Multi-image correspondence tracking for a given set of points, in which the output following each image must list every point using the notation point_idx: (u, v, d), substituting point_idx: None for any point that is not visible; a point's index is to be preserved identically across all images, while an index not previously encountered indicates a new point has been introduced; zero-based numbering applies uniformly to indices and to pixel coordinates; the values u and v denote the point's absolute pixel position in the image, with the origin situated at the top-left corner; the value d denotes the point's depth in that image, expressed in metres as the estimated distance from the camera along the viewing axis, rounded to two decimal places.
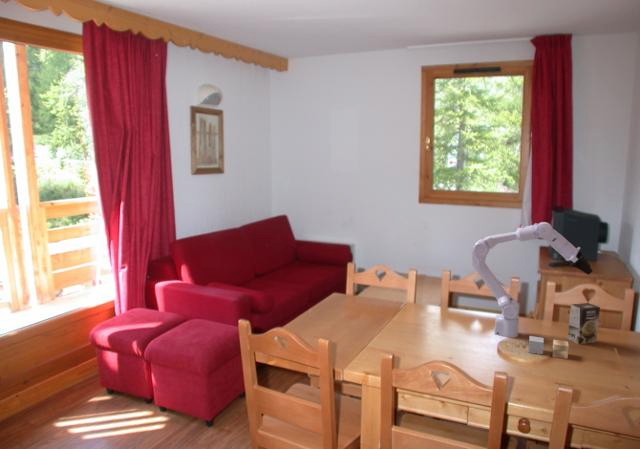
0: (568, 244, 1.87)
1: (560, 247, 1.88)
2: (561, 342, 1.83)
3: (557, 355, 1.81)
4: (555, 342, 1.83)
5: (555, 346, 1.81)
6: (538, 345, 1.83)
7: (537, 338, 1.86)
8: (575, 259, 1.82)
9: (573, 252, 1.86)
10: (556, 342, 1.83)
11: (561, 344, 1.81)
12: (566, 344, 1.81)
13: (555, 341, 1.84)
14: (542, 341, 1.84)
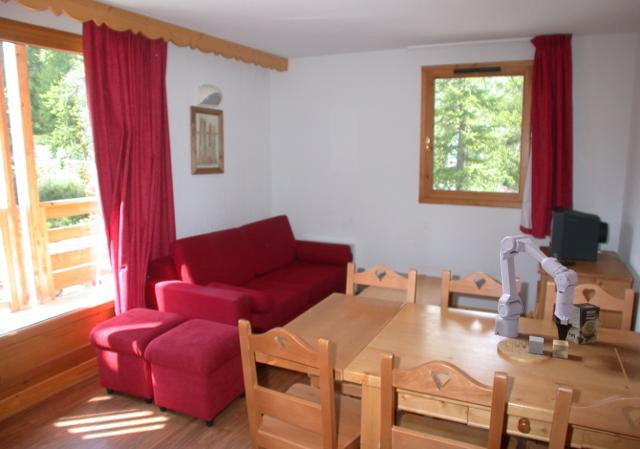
0: (571, 306, 1.77)
1: (558, 301, 1.79)
2: (561, 342, 1.83)
3: (557, 355, 1.81)
4: (555, 342, 1.83)
5: (555, 346, 1.81)
6: (538, 345, 1.83)
7: (537, 338, 1.86)
8: (565, 323, 1.74)
9: (567, 315, 1.77)
10: (556, 342, 1.83)
11: (561, 344, 1.81)
12: (566, 344, 1.81)
13: (555, 341, 1.84)
14: (542, 341, 1.84)
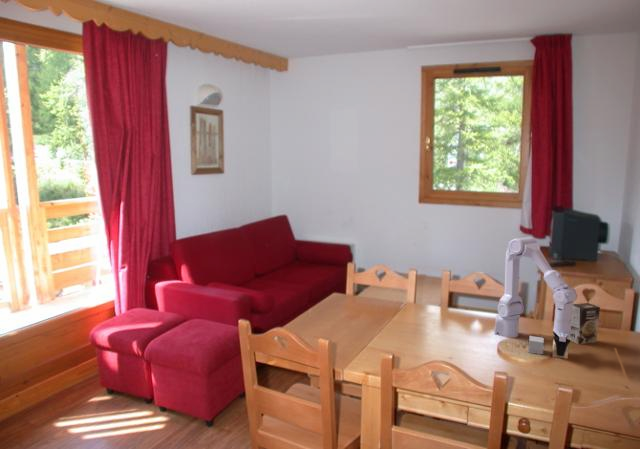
0: (569, 323, 1.78)
1: (557, 318, 1.80)
2: None
3: (557, 355, 1.81)
4: None
5: (555, 346, 1.81)
6: (538, 345, 1.83)
7: (537, 338, 1.86)
8: (563, 340, 1.75)
9: (566, 332, 1.79)
10: None
11: None
12: None
13: None
14: (542, 341, 1.84)
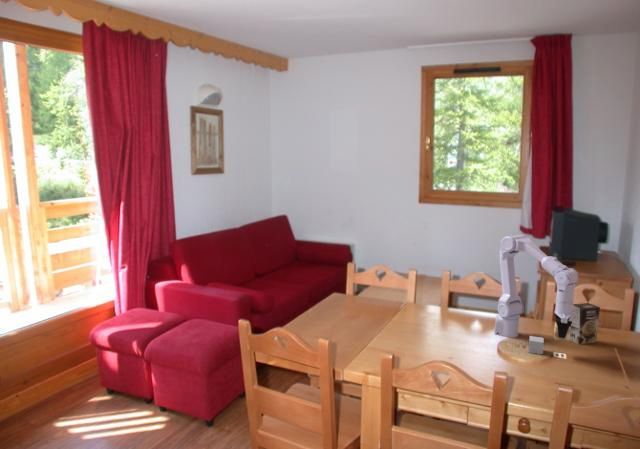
0: (571, 304, 1.77)
1: (558, 300, 1.79)
2: None
3: (559, 337, 1.80)
4: None
5: (557, 328, 1.80)
6: (538, 345, 1.83)
7: (537, 338, 1.86)
8: (565, 321, 1.74)
9: (567, 313, 1.77)
10: None
11: None
12: None
13: None
14: (542, 341, 1.84)
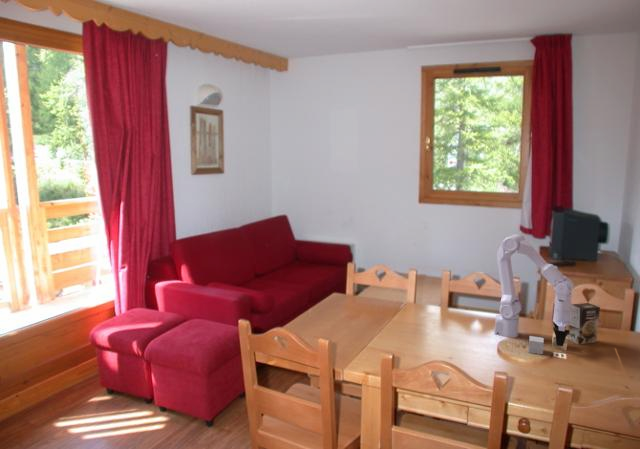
0: (568, 313, 1.86)
1: (558, 309, 1.86)
2: None
3: (556, 347, 1.89)
4: (554, 334, 1.90)
5: (554, 338, 1.89)
6: (538, 345, 1.83)
7: (537, 338, 1.86)
8: (562, 329, 1.83)
9: (565, 321, 1.86)
10: None
11: None
12: None
13: (554, 334, 1.91)
14: (542, 341, 1.84)
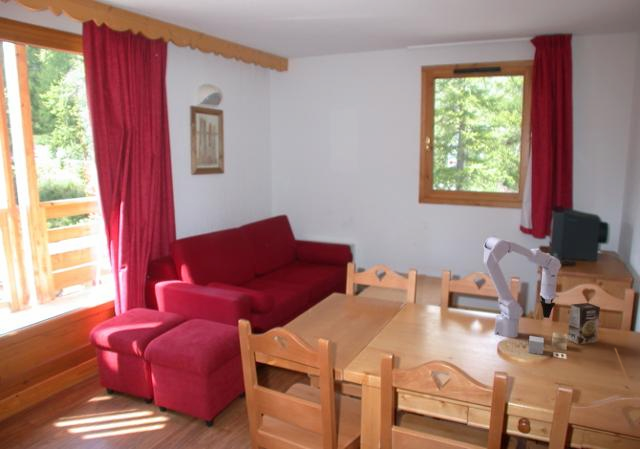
0: (554, 287, 1.99)
1: (551, 284, 1.98)
2: (560, 334, 1.90)
3: (556, 347, 1.89)
4: (554, 334, 1.90)
5: (554, 338, 1.89)
6: (538, 345, 1.83)
7: (537, 338, 1.86)
8: (548, 302, 1.96)
9: (551, 295, 1.99)
10: (555, 334, 1.90)
11: (560, 336, 1.89)
12: (565, 336, 1.88)
13: (554, 334, 1.91)
14: (542, 341, 1.84)
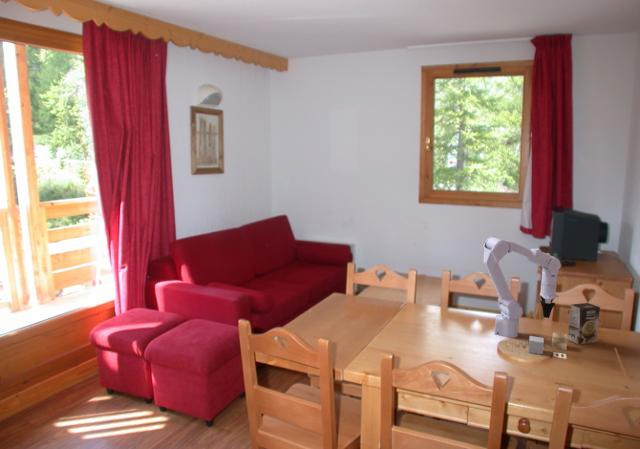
0: (554, 287, 1.99)
1: (551, 284, 1.98)
2: (560, 334, 1.90)
3: (556, 347, 1.89)
4: (554, 334, 1.90)
5: (554, 338, 1.89)
6: (538, 345, 1.83)
7: (537, 338, 1.86)
8: (548, 302, 1.96)
9: (551, 295, 1.99)
10: (555, 334, 1.90)
11: (560, 336, 1.89)
12: (565, 336, 1.88)
13: (554, 334, 1.91)
14: (542, 341, 1.84)
